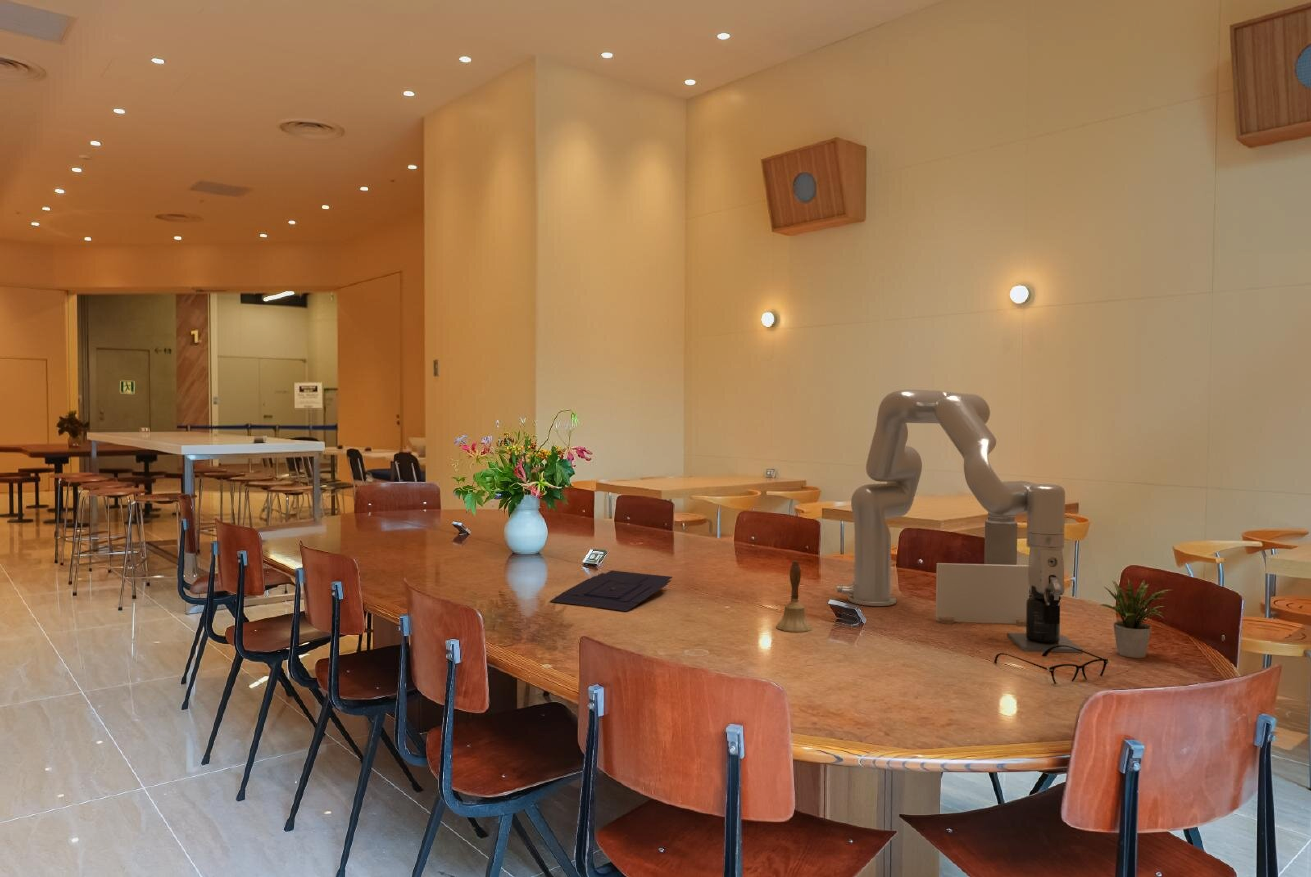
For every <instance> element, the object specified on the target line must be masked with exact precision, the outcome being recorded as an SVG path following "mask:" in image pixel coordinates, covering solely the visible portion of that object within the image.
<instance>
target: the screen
mask: <svg viewBox="0 0 1311 877" xmlns="http://www.w3.org/2000/svg"><path fill="white" fill-rule="evenodd" d="M1028 567H1029V564H1028V565H1026V564H1017V565H996V564H984V563H955V562H954V563H952V562H950V563H947V562H944V563H943V562H936V575H935V576H936V580H935V581H936V586H935V587H936V589H935V592H936V593H935V594H936V595H935V621H937V622H940V624H948V625H954V624H955V622H956V623H980V624H981V623H983V624H987V623H988V624H1011V625H1013V624H1016V625H1017V626H1018V627H1026V601H1027V599H1028V598H1029V595H1030V594H1029V589H1030V586H1029V581H1028Z"/></svg>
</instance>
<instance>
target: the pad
mask: <svg viewBox="0 0 1311 877" xmlns="http://www.w3.org/2000/svg"><path fill="white" fill-rule="evenodd" d="M1006 636H1007V637H1008V638H1009V640H1011V641H1012V642H1013V643H1014V644H1015V645H1016V646H1017V647H1018V648H1019V649H1020V650H1022V651H1024V652H1043V653H1044V652H1045V651H1046V650H1047V649H1049V648H1051V647H1054V646H1059V645H1064V646H1070V647H1073V648H1076V649H1079V650H1082V651H1083V648H1081V646H1078V645H1077V644H1076V643H1075V642H1074V641H1072V640H1070V639H1069V638H1068V637H1066V636H1065V635H1063V634H1060V640H1059V642H1057V643H1053V644H1045V643H1037V642H1033V641H1030V640H1028V639H1027V638H1026V632H1025V633H1023V632H1007V633H1006ZM1070 647H1057V648H1054V649H1052V650H1051V651H1050V652H1049V653H1074V654H1075V653H1076V654H1083V652H1081V651H1079V650H1076V649H1073V648H1070Z"/></svg>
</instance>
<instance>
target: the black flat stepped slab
mask: <svg viewBox="0 0 1311 877" xmlns="http://www.w3.org/2000/svg"><path fill="white" fill-rule="evenodd" d="M672 579H673V576H669V575H658V574H647V573H638V572H629V571H619V570H609V571H607V572H606V573H604V572H601V573H599V574H598V575H594V576H592V577H589V578H587V579H585V580H584V581H581V582H579V583H577V584H576V585H573V587H570V588H568V589H566V590H565V591H563V592H561V593H560V594H558V595H557V596H555V597H554V598H552V599H551V600H549V602H553V603H559V604H561V603H562V604H569V605H570V604H571V605H579V606H580V605H581V606H587V607H594V608H600V609H608V610H609V609H610V610H615V611H620V612H628V611H630V610H631V609H633V608H635V607H637V606H638V605H639V604H641V602H644V601H645V600H647V599H648V598H649V597H651V596H652V595H653V594H655V593H656V592H658V591H659V590H661V589H663V588H665V587H666V586H668V585H669V583H670V582H671V581H672Z"/></svg>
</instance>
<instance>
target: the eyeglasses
mask: <svg viewBox="0 0 1311 877" xmlns="http://www.w3.org/2000/svg"><path fill="white" fill-rule="evenodd" d="M1057 647H1070V646H1064V645H1059V646H1054V647H1051V648H1049V649H1047V650H1046V651H1045V652H1043V653H1042V654H1041V657H1045V658H1046V657H1047V656H1048V655H1049V653H1051V652H1050V651H1051V650H1052V649H1054V648H1057ZM1070 648H1073V647H1070ZM1073 649H1076V648H1073ZM1076 650H1079V649H1076ZM1079 651H1081V652H1082V653H1084V654H1087V655H1089V656H1092V657H1094V658H1095V659H1093V660H1089V661H1087V662H1085V663H1083V664H1081V665H1077V664H1073V663H1061V664H1056V665H1052V666H1050V667H1049V668H1048V667H1046V666H1042V665H1040V664H1036V663H1034V662H1031V661H1028V660H1025V659H1024V658H1020V657H1017V656H1014V655H1012V654H1008V653H1004V652H1000V653H997V654H996V655H995V656H994V661H993V663H994V664H997V662H998V658H999V656H1002V655H1004V656H1005V655H1006V656H1009V657H1012V658H1014V659H1018V660H1020V661H1023V662H1025V663H1028V664H1031V665H1033V666H1036V667H1038V668H1040V669H1043V670H1046V671H1048V672H1050V675H1051V678H1052V682H1053V684H1058V682H1057V681H1056V679H1055V669H1056V668H1062V667H1075V668H1076V669H1075V672H1074V673H1073V678H1072V679H1071V680H1070V682H1072V683H1073V682H1074V681H1075V679H1076V678H1077V676H1078V674H1079V671H1080V669H1081V671H1080V675H1081V676H1083V678H1084V679H1085V680H1088V678H1087V676H1086V672H1085V671H1086V670H1085V669H1086V668H1085V667H1086V666H1088V665H1090V664H1092V663H1095V662H1103V665H1102V669H1101V672H1100V675H1099V676H1101V677H1102V676H1103V674H1104V672H1105V670H1106V667H1107V665H1108V664H1109V659H1108V658H1104V657H1101V656H1098V655H1096V654H1095V655H1094V654H1093V653H1089V652H1087V651H1084V650H1083V649H1082V650H1079Z"/></svg>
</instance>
